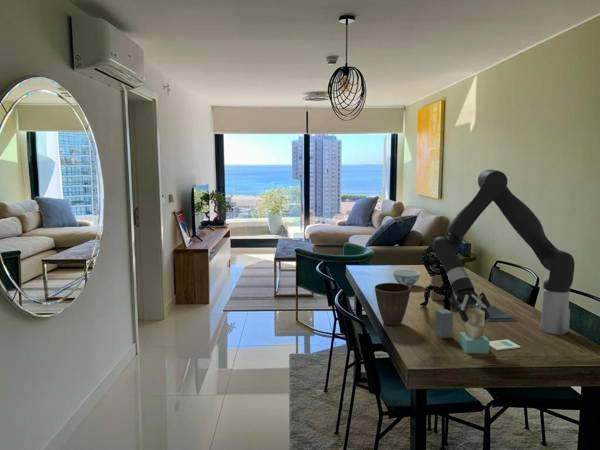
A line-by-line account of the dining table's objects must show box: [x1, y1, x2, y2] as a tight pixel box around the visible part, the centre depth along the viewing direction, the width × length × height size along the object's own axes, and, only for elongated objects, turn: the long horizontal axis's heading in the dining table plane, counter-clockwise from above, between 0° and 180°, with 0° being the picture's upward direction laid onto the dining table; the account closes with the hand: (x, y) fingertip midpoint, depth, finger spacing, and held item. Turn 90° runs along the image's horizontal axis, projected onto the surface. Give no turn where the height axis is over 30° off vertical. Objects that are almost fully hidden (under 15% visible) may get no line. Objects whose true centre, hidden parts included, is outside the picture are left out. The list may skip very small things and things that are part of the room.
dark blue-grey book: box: [465, 305, 518, 323], centre depth 198 cm, size 20×2×15 cm
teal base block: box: [459, 331, 490, 354], centre depth 160 cm, size 8×8×5 cm
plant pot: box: [374, 282, 411, 327], centre depth 186 cm, size 15×15×16 cm
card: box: [489, 339, 521, 351], centre depth 163 cm, size 10×7×1 cm
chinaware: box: [392, 269, 421, 288], centre depth 247 cm, size 15×15×8 cm
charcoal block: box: [435, 309, 454, 339], centre depth 172 cm, size 4×4×10 cm
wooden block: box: [430, 275, 444, 302], centre depth 222 cm, size 10×10×20 cm
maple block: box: [464, 307, 485, 339], centre depth 159 cm, size 4×4×10 cm
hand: (477, 320), depth 158 cm, fingers open, 8 cm apart
